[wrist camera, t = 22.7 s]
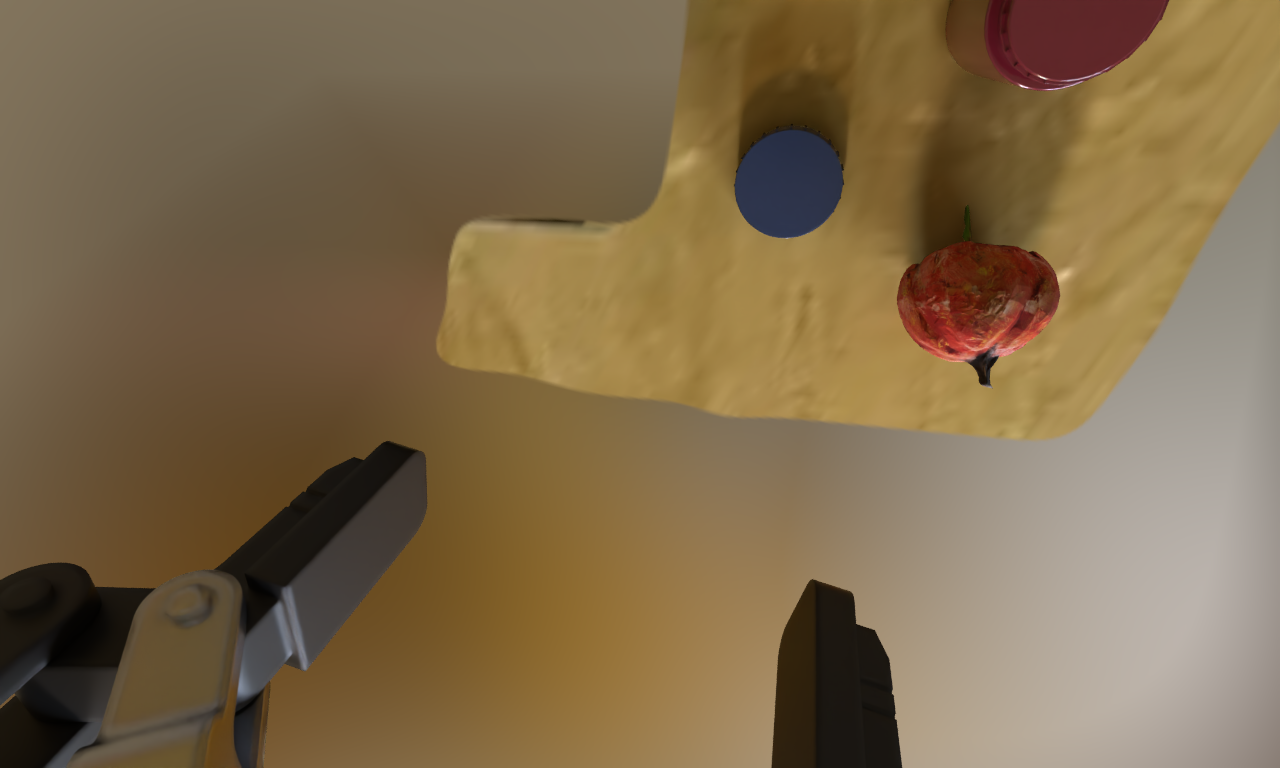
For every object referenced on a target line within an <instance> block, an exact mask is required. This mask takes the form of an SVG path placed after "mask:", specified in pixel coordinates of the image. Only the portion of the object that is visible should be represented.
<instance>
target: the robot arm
mask: <svg viewBox="0 0 1280 768" xmlns="http://www.w3.org/2000/svg"><path fill="white" fill-rule="evenodd" d="M426 509H427V482H426V458H425V454H424V453H423V452H422V451H418V450H415V449H412V448H409V447H406V446H403V445H400V444H397V443H394V442H391V441H386V442H384V443H382V444H381V445H380V446H378V447H377V448H376V449H375V450H374V451H373V452H372V453H371V454H370V455H369V456H368V457H367V458H366V459H365V460H361V459H358V458H355V457H353V458H351V459H349V460H347V461H345V462H343V463H341V464H339V465H337V466H334V467H332V468H330V469H328V470H327V471H325V472H324V473H323V474H322V475H321V476H320V477H319V478H318V479H317V480H315V481H314V482H313V483H312V484H311V485H310V486H309V487H308V488H307V490H306V492H302V493H301V494H300V495H299V496H298V497H296V498H295V499H294V500H293V501H292V502H291V503H290V506H289V507H285V508H284V509H283V510H282V511H281V512H280V513H278V514H277V515H276V516H275V517H274V518H273V519H272V520H271V521H269V522H268V523H267V524H266V525H265V526H264V527H263V528H262V529H260V531H258V532H257V533H256V534H255V535H254V536H253V537H251V538H250V539H249V540H248V541H247V542H246V543H245V544H244V545H242V546H241V547H240V548H239V549H238V550H237V551H236V552H235V553H234V554H232V555H231V557H229V558H228V559H227V560H226V561H225V562H223V563H222V564H221V565H220V566H218V567H217V568H216V569H214V570H201V571H195V572H190V573H186V574H183V575H180V576H178V577H175V578H173V579H171V580H169V581H167V582H165V583H164V584H162V585H161V586H159V587H158V588H153V589H152V588H151V589H149V588H114V587H95V585H94V583H93V582H92V580H91V578H90V576H89V574H88V573H87V571H86V570H85V569H83V568H82V567H80V566H77V565H75V564H70V563H48V564H43V565H38V566H34V567H30V568H27V569H24V570H21V571H19V572H16V573H14V574H11V575H9V576H7V577H5V578H4V579H2V580H0V705H1V704H2V703H3V702H5V701H6V700H7V699H8V698H9V697H10V696H11V695H13V694H14V693H15V695H16V696H14V697H13V698H12V699H11V700H10V701H9V702H8V703H6V704H5V705H4V706H3V707H2V708H1V709H0V768H263V765H264V754H265V743H266V732H267V731H266V730H267V720H268V710H269V698H270V680H271V679H272V677H273V676H274V675H275V674H276V673H277V671H278V670H279V669H280V668H281V667H282V666H283V664H287V665H290V666H292V667H295V668H298V669H300V670H303V671H306V670H307V669H308V667H309V666H310V665H311V664H312V662H313V661H314V660H315V659H316V657H317V656H318V655H319V654H320V652H321V651H322V650H323V649H324V647H325V646H326V645H327V644H328V642H329V641H330V639H332V637H333V636H334V635H335V634H336V632H337V631H338V630H339V629H340V627H341V626H342V625H343V624H344V622H345V621H346V620H347V619H348V617H349V616H350V615H351V614H352V612H353V611H354V610H355V609H356V607H357V606H358V605H359V604H360V602H361V601H362V600H363V598H364V597H365V596H366V595H367V594H368V592H369V591H370V590H371V589H372V587H373V586H374V585H375V584H376V583H377V581H378V580H379V579H380V578H381V576H382V575H383V574H384V573H385V571H386V570H387V568H389V566H390V565H391V564H392V562H393V561H394V560H395V559H396V558H397V556H398V555H399V554H400V552H401V551H402V550H403V549H404V548H405V546H406V545H407V544H408V542H409V541H410V540H411V539H412V537H413V536H414V535H415V534H416V532H417V531H418V529H419V527H420V526H421V524H422V522H423V519H424V516H425V513H426ZM777 669H778V670H777V686H776V701H775V719H774V736H773V753H772V768H902V762H901V755H900V746H899V737H898V729H897V720H895V714H896V713H895V703H894V695H893V694H892V689H893V687H892V679H891V670H890V662H889V658H888V656H887V654H886V652H885V650H884V648H883V646H882V644H881V642H880V640H879V638H878V636H877V634H876V632H875V630H872V629H869V628H866V627H863V626H860V625H857V624H856V616H855V602H854V596H853V594H852V593H851V592H850V591H847V590H844V589H841V588H838V587H835V586H832V585H829V584H826V583H822V582H819V581H816V580H813V579H812V580H810V581H809V583H808V584H807V586H806V588H805V590H804V592H803V594H802V596H801V598H800V600H799V602H798V603H797V605H796V607H795V610H794V611H793V613H792V615H791V617H790V619H789V621H788V623H787V625H786V627H785V629H784V632H783V635H782V639H781V643H780V648H779V655H778V667H777Z"/></svg>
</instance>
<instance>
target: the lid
mask: <svg viewBox="0 0 1280 768" xmlns="http://www.w3.org/2000/svg"><path fill="white" fill-rule="evenodd" d="M741 159H742V161H741V164H740V166H739V167H738V169H737V171H736V173H737V175H736V179H735V184H734V187H735V196H736V201H737V204H738V207H739V209H740V212H741V213H742V215H743V216H744V218H745V219H746V220H747V222H748V223H749V224H750V225H751V226H753V227H754V228H755V229H757V230H758V231H760V232H762V233H764V234H766V235H769V236H772V237H777V238H793V237H798V236H801V235H805V234H807V233H809V232H811V231H813V230H815V229H816V228H818V227H819V226H820V225H822V224H823V223H824V222H825V221H826V220H827V219H828V218H829V216H830V215H831V214H832V213H833V212H834V209H835V208H836V206H837V204H838V202H839V199H840V198H841V193H842V187H843V185H844V180H843V173H842V171H843V170H844V169H843V164H841V163H840V159H839V152H838V151H836V150H835V148H834V146H833V145H832V144H831V140H830V139H829V140H828V139H827V138H826V137H825V136H823V135H822V134H821V133H820V131H818V132H817V131H815V130H813V129H811V128H808V127H807V126H806V125H805V127H803V126H793V124H791V126H784V127H780V128H779V126H778V127H776V129H774V130H771V131H770V132H768V133H763V135H762V136H761V137H760V138H759V139H758V140H757V141H756V142H753V143H752V144H751V146H750V148H749V150H748V151H747V153H746V154H745V153H744V155H743V157H742V158H741Z"/></svg>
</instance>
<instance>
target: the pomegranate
mask: <svg viewBox="0 0 1280 768" xmlns="http://www.w3.org/2000/svg"><path fill="white" fill-rule="evenodd" d="M964 222H965V229H964V233H963V236H962V237H963V239H964V240H965V241H964V242H959V243H956V244H953V245H950V246H948V247H946V248H943V249H940V250H937V251H934V252H933V253H931V254H930V255H928V256H927V257H925V258H924V260H923V261H922V262H921V263H920V264H912V265H911V266H910V267H909V268H907V270H906V272H905V273H904V275H903V277H902V279H901V281H900V285H899V290H898V295H897V305H898V309H899V313H900V317H901V319H902V321H903V325H904V327H905V329H906V330H907V332H908V333H909V335H910V336H911V337H912V339H913V340H914V341H915V342H916V343H917V344H918V345H919V346H920V347H921V348H923V349H924V350H926V351H927V352H929V353H930V354H932V355H935V356H937V357H939V358H942V359H944V360H947V361H950V362H968V363H969V364H970V365H972V366H973V367H974V368H975V370H976V371H977V373H978V376H979V383H980V384H981V385H983V386H985V387H989V388H992V386H991V385H990V368H991V367H992V366H993V365H994V363H995V362H996V361H997V359H998V357H1000V356H1007V355H1010V354H1011V353H1013V352H1014V351H1016V350H1018V349H1020V348H1022V347H1023V346H1024V345H1025V344H1026V343H1027V342H1028V341H1030V340H1031V339H1033V338H1034V337H1035V336H1036V335H1038V334H1039V333H1040V332H1041V331H1042V330H1043V329H1044V328H1045V327H1046V326H1047V324H1048V323H1049V322H1050V320H1051V319H1052V317H1053V315H1054V314H1055V312H1056V309H1057V307H1058V303H1059V298H1060V291H1059V285H1058V281H1057V277H1056V274H1055V272H1054V270H1053V268H1052V267H1051V266H1050V264H1049V263H1048V262H1047V261H1046V260H1045V259H1044V258H1043V257H1042V256H1040V255H1039V254H1038V253H1036V252H1034V251H1031V252H1027V251H1026V250H1022V249H1020V248H1019V247H1015V246H1006V245H1000V246H999V245H991V244H982V243H974V242H972V236H971V225H970V212H969V206H968V205H967V206H966V207H965V215H964Z"/></svg>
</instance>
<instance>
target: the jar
mask: <svg viewBox="0 0 1280 768" xmlns="http://www.w3.org/2000/svg"><path fill="white" fill-rule="evenodd" d="M1168 2H1169V0H952V2H951V4H950V7H949V10H948V14H947V19H946V40H947V45H948V48H949V51H950V53H951V55H952V57H953V59H954V60H955V61H956V63H957V64H958V65H959V66H960V67H961V68H962V69H964V70H965V71H967V72H968V73H970V74H973V75H975V76H978V77H982V78H986V79H990V80H994V81H998V82H1002V83H1006V84H1010V85H1014V86H1018V87H1022V88H1026V89H1030V90H1037V91H1051V90H1058V89H1063V88H1067V87H1071V86H1074V85H1077V84H1079V83H1082V82H1084V81H1087V80H1089V79H1091V78H1094V77H1096V76H1098V75H1100V74H1103V73H1105V72H1108V71H1109V70H1111V69H1112V68H1114V67H1115V66H1116V65H1118V64H1119V63H1121V62H1122V61H1124V60H1125V59H1128V58H1129V57H1130V56H1131V55H1132V54H1133V53H1134V51H1135V50H1136V49H1137V48H1138V47H1139V46H1140V45H1141V44H1142V43H1143V42H1144V41H1146V40H1147V39H1148V37H1149V36H1150V34H1151V33H1152V31H1153V30H1154V28H1155V27H1156V25H1157V24H1158V22H1159V21H1160V20H1161V19H1162V17H1163V14H1164V12H1165V9H1166V7H1167V4H1168Z"/></svg>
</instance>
